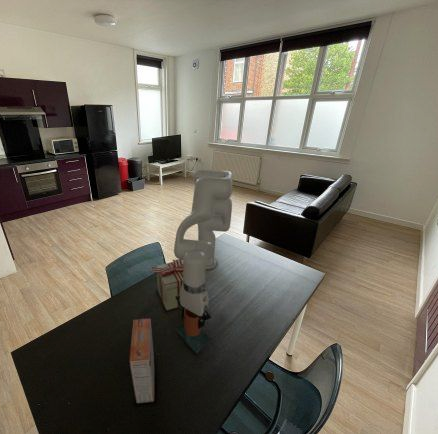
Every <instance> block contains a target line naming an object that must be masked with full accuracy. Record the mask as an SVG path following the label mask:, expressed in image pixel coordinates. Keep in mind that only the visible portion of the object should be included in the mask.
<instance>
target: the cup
mask: <svg viewBox="0 0 438 434" xmlns="http://www.w3.org/2000/svg"><path fill="white" fill-rule="evenodd" d="M198 321H199V317H198V315H196V314H195V313H193V312H191V311H189V310H188V309H186V308H185V309H184V319H183V326H184V331H185V333H186V334H187V335H189V336H197V335H198V334H200V332H201V330H202V328H203V327H201V328H200V329H199V328H198Z"/></svg>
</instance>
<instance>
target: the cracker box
mask: <svg viewBox="0 0 438 434" xmlns="http://www.w3.org/2000/svg"><path fill="white" fill-rule="evenodd" d="M152 329H153V328H152V319H151V317H150V318H139V319H133V320H132V329H131V341H130V352H129V366H130V373H131V378H132V379H131V380H132V385H133V390H134V396H135V402H136V404H144V403H153V402H155V351H154V341H153V330H152Z"/></svg>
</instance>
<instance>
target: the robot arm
mask: <svg viewBox="0 0 438 434" xmlns="http://www.w3.org/2000/svg"><path fill="white" fill-rule="evenodd" d="M192 181H193V184H194V191H193V196H192V204H191V210H190V211H191V212H190V213H189V214H188V215H187V216H186V217H185V218H183V220H182V221H181V222H180V223H179V225H178V228H177V229H176V233H175V234H176V235H175V239H174V244H173V245H174V246H173V254H174V257H175V258H176V259H177V260H178V259H180V260H183V284H182V287H181V291H180V294H179V295H177V296H176V297H175V298H176V300H177V301H178V304H179V305H180V307H179V309H180V311H181V319H183V320H184V309H185V308H186V309H188V310H189V311H191V312H193V313H195V314H196V315H198V317H199V321H198V328H199V329H200V328H201V327H202V328H203V327H204V326H205V325H206V321H208V320H210V319H212V318H213V317H214V314H213V313H212V312H211V310H210V309H209V293H208V289H209V288H208V287H207V285H206V271H207V270H210V269H214V268H215V267H216V266H217V259H216V258H215V253H216V252H215V250H216V239H217V238H216V233H215V232H220V233H221V232H222V233H223V232H225V233H226V232H228V231H229V230H230V228H231V222H232V211H233V201H232V199H231V196H232V193H233V182H234V177H233V173H232V172H231V171H229V170H215V169H196V170H194V171H193V173H192ZM195 225H197V239H189V238H188V239H187V238H185V234H186V232H187V230H189V229H190V228H191V227H193V226H195Z"/></svg>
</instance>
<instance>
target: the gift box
mask: <svg viewBox="0 0 438 434" xmlns="http://www.w3.org/2000/svg"><path fill="white" fill-rule="evenodd" d="M151 270H152V273H154V274H156V281H157V282H156V283H157V291H158V294H159V297H160V300H161V302H162V304H163V306H164V308H165V311H171V310H173V309H177V308H180V305H179V304H178V301H177V300H176V298H175V297H176V296H177V295H179V294H180V291H181V287H182V284H183V260H181V259H178V258H177V259H172V261H170V262H167V263H162V264H159V265H155V266H154V267H153V266H152V267H151Z"/></svg>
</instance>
